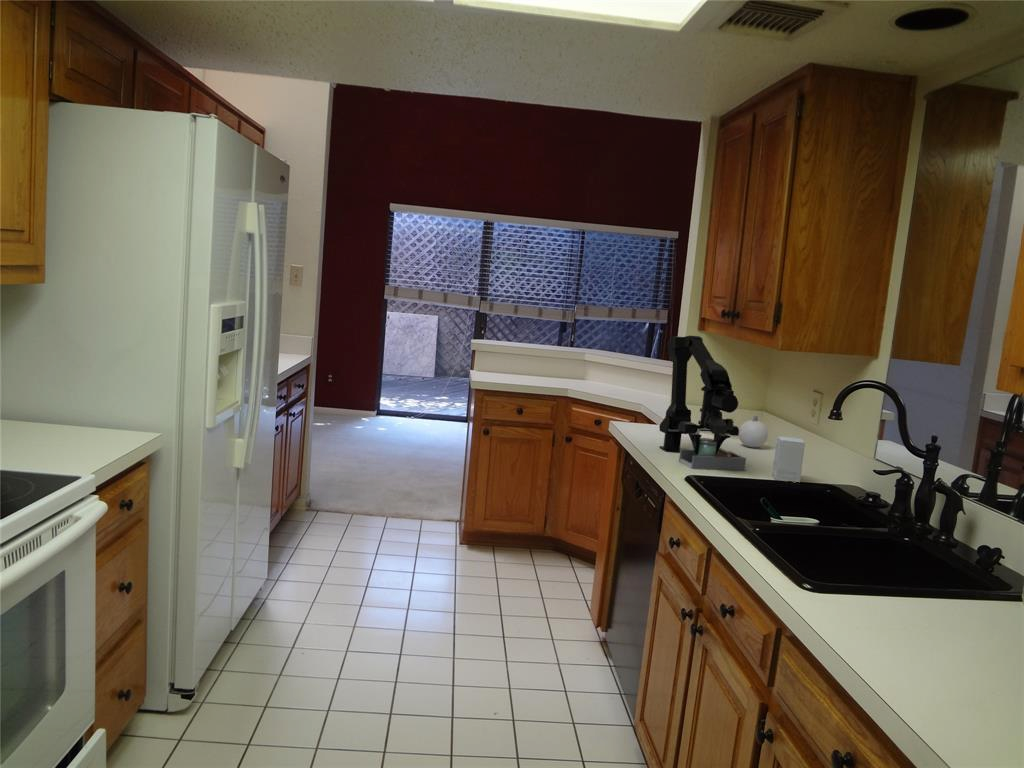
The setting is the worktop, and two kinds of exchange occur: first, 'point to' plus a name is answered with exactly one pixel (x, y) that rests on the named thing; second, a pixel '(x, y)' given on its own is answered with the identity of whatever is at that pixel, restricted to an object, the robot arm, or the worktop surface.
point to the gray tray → (712, 461)
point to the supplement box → (788, 459)
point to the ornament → (753, 433)
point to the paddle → (723, 453)
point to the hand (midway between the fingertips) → (705, 454)
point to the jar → (707, 447)
